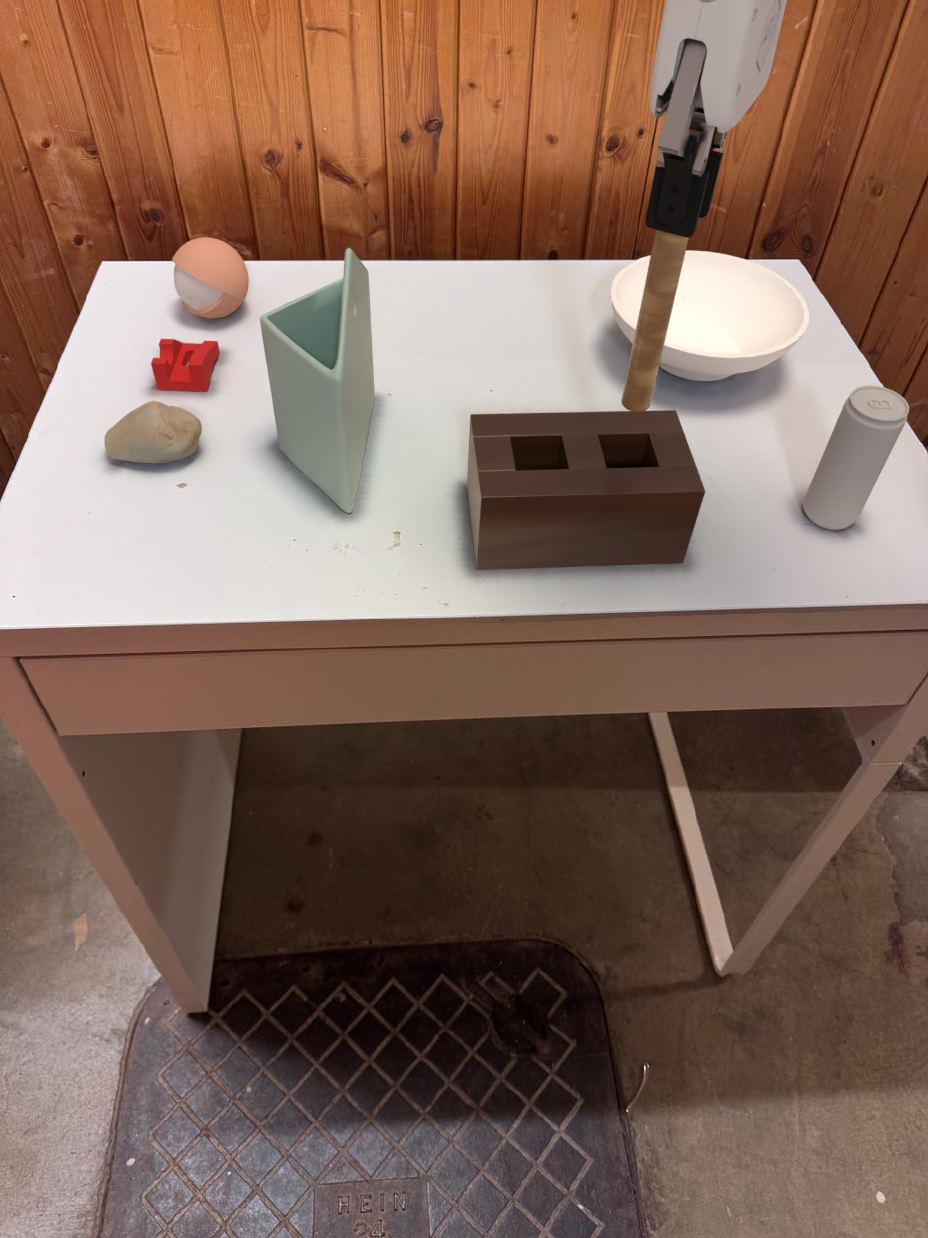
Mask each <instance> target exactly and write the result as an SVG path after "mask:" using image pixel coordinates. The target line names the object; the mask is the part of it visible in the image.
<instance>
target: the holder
mask: <svg viewBox="0 0 928 1238" xmlns="http://www.w3.org/2000/svg"><path fill="white" fill-rule="evenodd" d="M467 455H468V457H467V475H466V476H467V478H466V492H467V500H468V508H469V517H470V525H471V534H472V542H473V553H474V561H475V568H476V570H477V571H478V570H503V569H504V570H506V569H507V570H508V569H509V570H510V569H535V568H537V569H538V568H566V567H570V568H571V567H599V566H627V565H629V566H630V565H661V564H663V565H664V564H683V563H684V561H685V558H686V555H687V552H688V549H689V545H690V542H691V539H692V536H693V533H694V529H695V527H696V523H697V519H698V516H699V514H700V510H701V507H702V504H703V501H704V497H705V495H706V490H705V487H704V483H703V481H702V478H701V475H700V473H699V470H698V467H697V465H696V462H695V459H694V456H693V453H692V450H691V448H690V445H689V442H688V440H687V437H686V434H685V432H684V429H683V426H682V423H681V421H680V418H679V415H678V412H677V410H675V409H667V410H666V409H665V410H664V409H663V410H662V409H661V410H645V411H643V412H633V411H630V410H616V411H610V410H609V411H566V412H565V411H563V412H561V411H560V412H557V411H555V412H520V413H519V412H511V413H510V412H509V413H471V414H470V415H469V435H468V454H467Z"/></svg>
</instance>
